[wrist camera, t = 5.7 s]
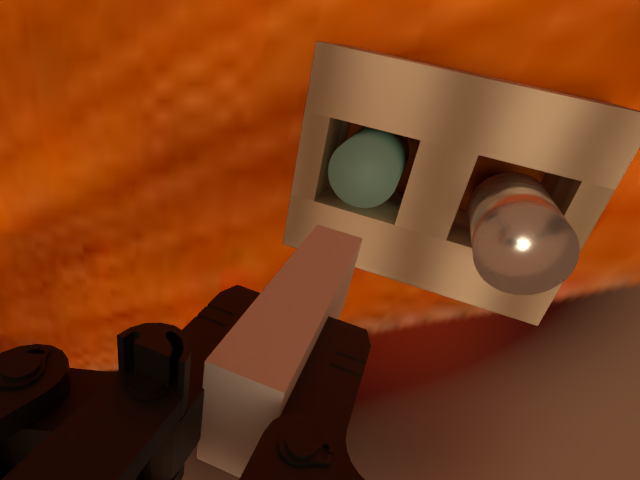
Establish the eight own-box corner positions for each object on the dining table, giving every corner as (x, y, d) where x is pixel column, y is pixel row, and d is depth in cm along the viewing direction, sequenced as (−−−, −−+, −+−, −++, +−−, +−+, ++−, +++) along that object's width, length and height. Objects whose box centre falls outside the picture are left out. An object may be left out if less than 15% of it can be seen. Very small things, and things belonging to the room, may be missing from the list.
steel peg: (457, 229, 23) (459, 278, 18) (483, 163, 21) (493, 196, 16) (529, 250, 22) (552, 307, 17) (562, 183, 20) (599, 225, 15)
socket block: (311, 212, 31) (282, 243, 26) (343, 44, 25) (316, 41, 20) (521, 276, 28) (537, 325, 23) (609, 102, 23) (657, 116, 17)
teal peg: (345, 172, 28) (322, 197, 23) (357, 115, 27) (336, 129, 22) (399, 187, 28) (388, 216, 23) (416, 130, 26) (407, 148, 21)
